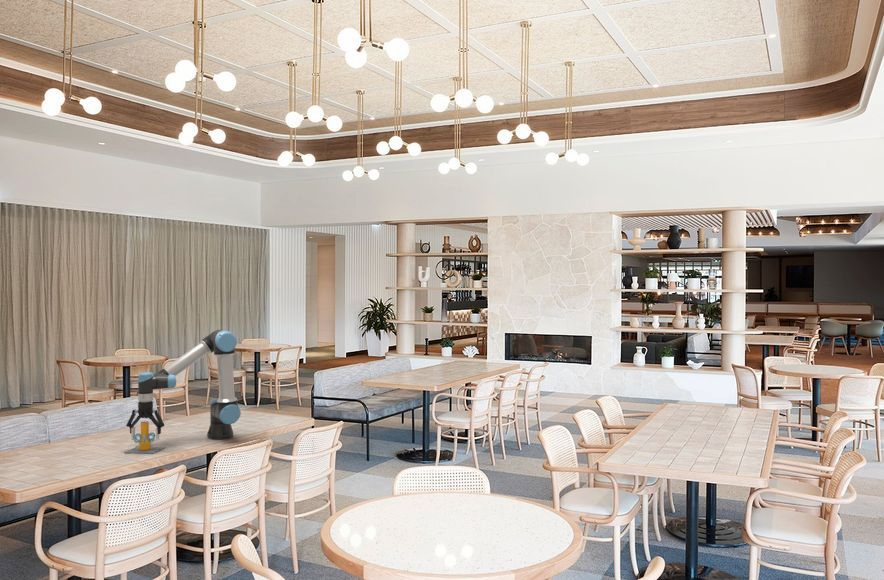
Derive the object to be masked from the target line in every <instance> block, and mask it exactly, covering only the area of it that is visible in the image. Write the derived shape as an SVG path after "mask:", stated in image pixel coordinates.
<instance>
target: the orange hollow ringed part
mask: <svg viewBox="0 0 884 580" xmlns="http://www.w3.org/2000/svg"><path fill="white" fill-rule="evenodd" d="M149 428H150V422H149V420H148V421H141V422H140V433H135V437H134V440H133V442H134V443H137V444H138V446H139V450H141V451H144V450H150V449H151V447H152V445H151V443H152V442H154V441H155V440H156V432H155V433H154V432H152V431H151V432H149V431H150V429H149ZM150 436H151V438H150ZM138 437H139V439H138Z"/></svg>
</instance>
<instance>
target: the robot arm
mask: <svg viewBox="0 0 884 580" xmlns="http://www.w3.org/2000/svg"><path fill="white" fill-rule="evenodd" d="M237 341H238V340H237V337H236V336H235V334H234V333H233V332H231V331H229V330H223V329H217V330H214V331H212V332H210V333H209V334H208V335H207V336H205V337H203V338H202V339H201V340H200V343H198V344H197V345H196V346H194V347H193V348H191V349H189V350H188V351H186V352H185V353H184V354H182V355H181V356H179V357H178V358H177V359H175V360H173V361H172V362H171V363H170V364H168V365H166V366H165V367H163V368H162V369H160V370H159V371H156V372H150V371H148V372H147V371H146V372H145V371H144V372H140V373H139V374H138V380H137V383H138V385H137V390H138V392H137V396H138V397H137V400H138V403H137V408H138V409H136V408H135V409H132V411H131V414H130V417H129V419H128V421H127V423H126V425H125V426H126V427H128V428H129V434H131V435H130V437H131V438H130V439H131V441H134V437H135V435H136V427H135V425H136V424H137V423H138V422H139V421H140V420H141V418H142V419H149V420H151V422H152V424H154V425H155V427H156V428H155V441H159V440H160V434H161V433H162V428H163V427H165V423H164V421H163V419H162V417H161V415H160V410H159V409H154V408H153V407H154V402H153V400H154V390H166V389H168V390H169V389H174V388H176V386H177V377H176V376H178V375H179V374H180V373H182V372H184V371H185V370H187V369H188V368H189V367H190V366H193V364H195V363H196V362H197V361H199V360H200V359H203V357H205V356H206V355H208V354H212V353H213V355H214V356H215V357H216V362H217V379H218V396H219V397H218V398H213V399H211V400H210V405H209V406H210V409H209V411H210V412H209V413H210V415H209V416H210V421H209V423H210V424H209V427H208V431H207V434H206V438H207V439H208V440H209V439H210V440H226V439H225V438H228V439H231V438H230V437H232V438H233V437H234V430H233V427H232V424H235V423H237V422H238V420H239V419H240V418H241V414H242V413H241V409H240V407H239V403H238V402H239V400H238V398H237V397H236V395H235V381H234V379H235V377H234V362H233V356H234V355H235V354H236V346H237V343H238V342H237ZM137 414H138V415H137ZM136 415H137V416H136ZM154 415H155V416H154ZM135 417H136V418H135Z"/></svg>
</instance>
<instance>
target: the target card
mask: <svg viewBox="0 0 884 580" xmlns="http://www.w3.org/2000/svg"><path fill="white" fill-rule="evenodd" d="M165 448H166V447H165V446H151V449H150V450H144V451H141V450H139V445H137V446H135V447H132V448H131V449H128V450H126V451H124V454H131V453H135V454H137V455H138V454H139V455H143V454H144V455H154V453H155V454H157V453H158V452H160V451H162V450H164V449H165Z"/></svg>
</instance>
